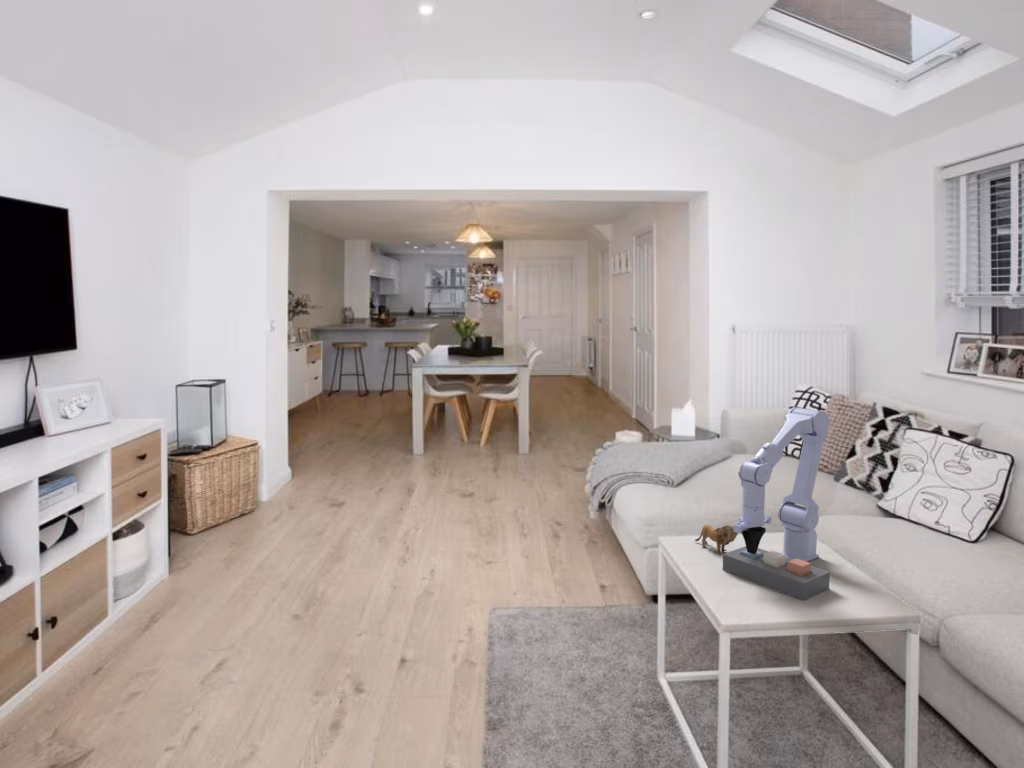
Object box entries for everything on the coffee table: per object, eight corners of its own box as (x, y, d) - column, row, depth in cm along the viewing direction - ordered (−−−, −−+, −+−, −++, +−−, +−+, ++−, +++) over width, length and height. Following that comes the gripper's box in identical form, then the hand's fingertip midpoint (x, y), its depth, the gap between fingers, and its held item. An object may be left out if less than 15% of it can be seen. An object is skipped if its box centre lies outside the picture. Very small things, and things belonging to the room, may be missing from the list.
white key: (772, 560, 173) (772, 550, 173) (785, 565, 170) (785, 554, 170) (763, 564, 171) (763, 553, 171) (776, 568, 168) (777, 558, 167)
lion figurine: (740, 554, 188) (741, 525, 187) (729, 558, 185) (730, 529, 184) (699, 540, 200) (700, 513, 199) (689, 544, 197) (689, 516, 196)
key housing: (748, 559, 184) (749, 544, 183) (829, 588, 164) (829, 572, 164) (722, 569, 177) (723, 554, 177) (803, 600, 158) (804, 583, 157)
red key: (795, 569, 167) (796, 558, 167) (810, 574, 164) (810, 563, 164) (787, 572, 165) (787, 561, 165) (801, 577, 162) (802, 566, 162)
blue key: (749, 558, 179) (749, 548, 179) (762, 563, 176) (762, 552, 175) (740, 561, 177) (741, 551, 176) (753, 566, 174) (753, 555, 173)
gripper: (756, 497, 182) (754, 542, 183) (724, 506, 174) (723, 553, 175) (778, 503, 176) (776, 549, 178) (746, 512, 168) (745, 561, 169)
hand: (751, 552), depth 176 cm, fingers closed, pressing on blue key
